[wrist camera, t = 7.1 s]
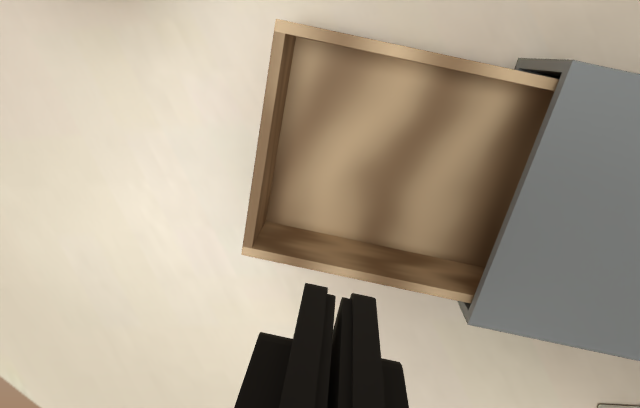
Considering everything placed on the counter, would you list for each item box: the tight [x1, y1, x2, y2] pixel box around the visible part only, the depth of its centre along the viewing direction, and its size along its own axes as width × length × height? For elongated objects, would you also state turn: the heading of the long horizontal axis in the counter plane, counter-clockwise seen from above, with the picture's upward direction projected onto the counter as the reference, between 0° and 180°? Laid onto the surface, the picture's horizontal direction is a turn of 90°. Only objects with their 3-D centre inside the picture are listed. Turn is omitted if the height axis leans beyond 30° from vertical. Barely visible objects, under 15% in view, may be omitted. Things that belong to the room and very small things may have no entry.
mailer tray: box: [241, 19, 559, 303], centre depth 26 cm, size 19×14×5 cm
